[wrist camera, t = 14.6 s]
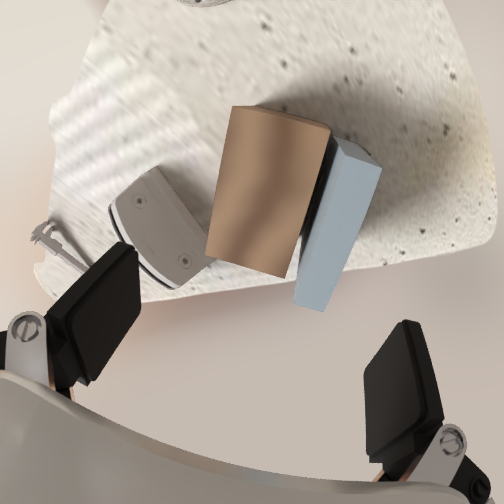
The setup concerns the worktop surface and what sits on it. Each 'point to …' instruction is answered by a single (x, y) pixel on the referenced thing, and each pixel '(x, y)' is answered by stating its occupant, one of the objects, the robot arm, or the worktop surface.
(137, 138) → the worktop surface
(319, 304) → the door
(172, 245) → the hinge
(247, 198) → the cabinet
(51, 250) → the caliper
